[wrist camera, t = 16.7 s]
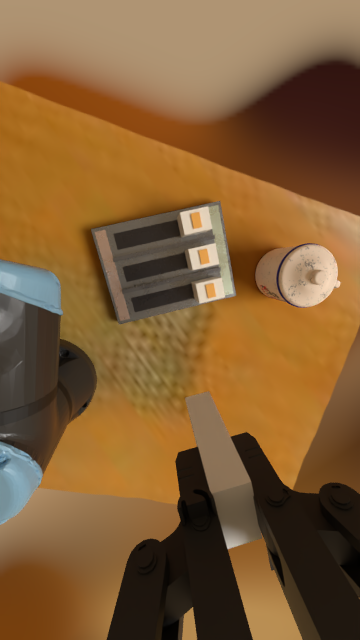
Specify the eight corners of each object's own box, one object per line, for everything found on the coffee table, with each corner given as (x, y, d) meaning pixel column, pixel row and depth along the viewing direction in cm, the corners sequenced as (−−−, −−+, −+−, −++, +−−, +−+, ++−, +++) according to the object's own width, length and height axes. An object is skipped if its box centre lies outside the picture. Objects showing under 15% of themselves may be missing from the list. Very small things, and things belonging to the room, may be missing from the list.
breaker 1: (181, 237, 39) (184, 234, 35) (176, 217, 39) (180, 212, 34) (205, 232, 40) (212, 228, 35) (202, 211, 39) (208, 205, 35)
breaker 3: (194, 299, 42) (199, 303, 38) (191, 281, 41) (195, 284, 37) (218, 294, 42) (225, 297, 38) (214, 276, 41) (222, 277, 37)
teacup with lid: (247, 294, 45) (280, 304, 34) (260, 241, 43) (300, 234, 32) (307, 306, 47) (358, 320, 36) (323, 256, 45) (381, 254, 34)
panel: (120, 321, 43) (118, 325, 41) (93, 230, 40) (89, 228, 37) (232, 294, 45) (237, 296, 42) (216, 203, 41) (221, 199, 38)
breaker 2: (188, 269, 40) (193, 270, 36) (184, 250, 40) (188, 249, 36) (212, 263, 41) (219, 264, 37) (209, 244, 40) (215, 242, 36)
